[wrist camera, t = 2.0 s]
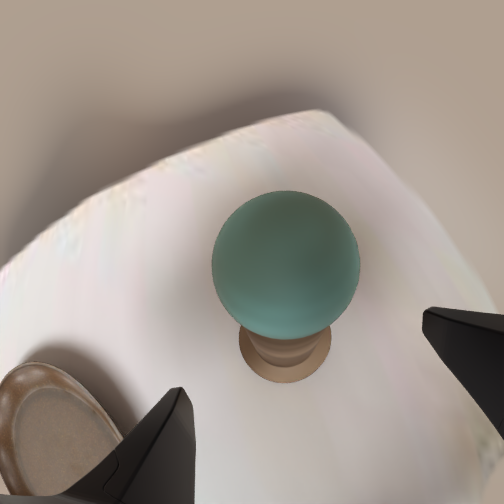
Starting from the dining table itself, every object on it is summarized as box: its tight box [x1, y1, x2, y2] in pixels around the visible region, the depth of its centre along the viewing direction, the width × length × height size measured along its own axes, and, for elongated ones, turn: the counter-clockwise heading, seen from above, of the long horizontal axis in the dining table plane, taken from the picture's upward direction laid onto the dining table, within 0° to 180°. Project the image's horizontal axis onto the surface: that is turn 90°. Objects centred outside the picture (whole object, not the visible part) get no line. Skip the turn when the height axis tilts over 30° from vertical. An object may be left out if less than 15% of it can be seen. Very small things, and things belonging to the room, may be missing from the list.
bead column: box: [212, 191, 360, 383], centre depth 13 cm, size 6×6×14 cm
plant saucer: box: [0, 362, 124, 496], centre depth 12 cm, size 21×21×3 cm
